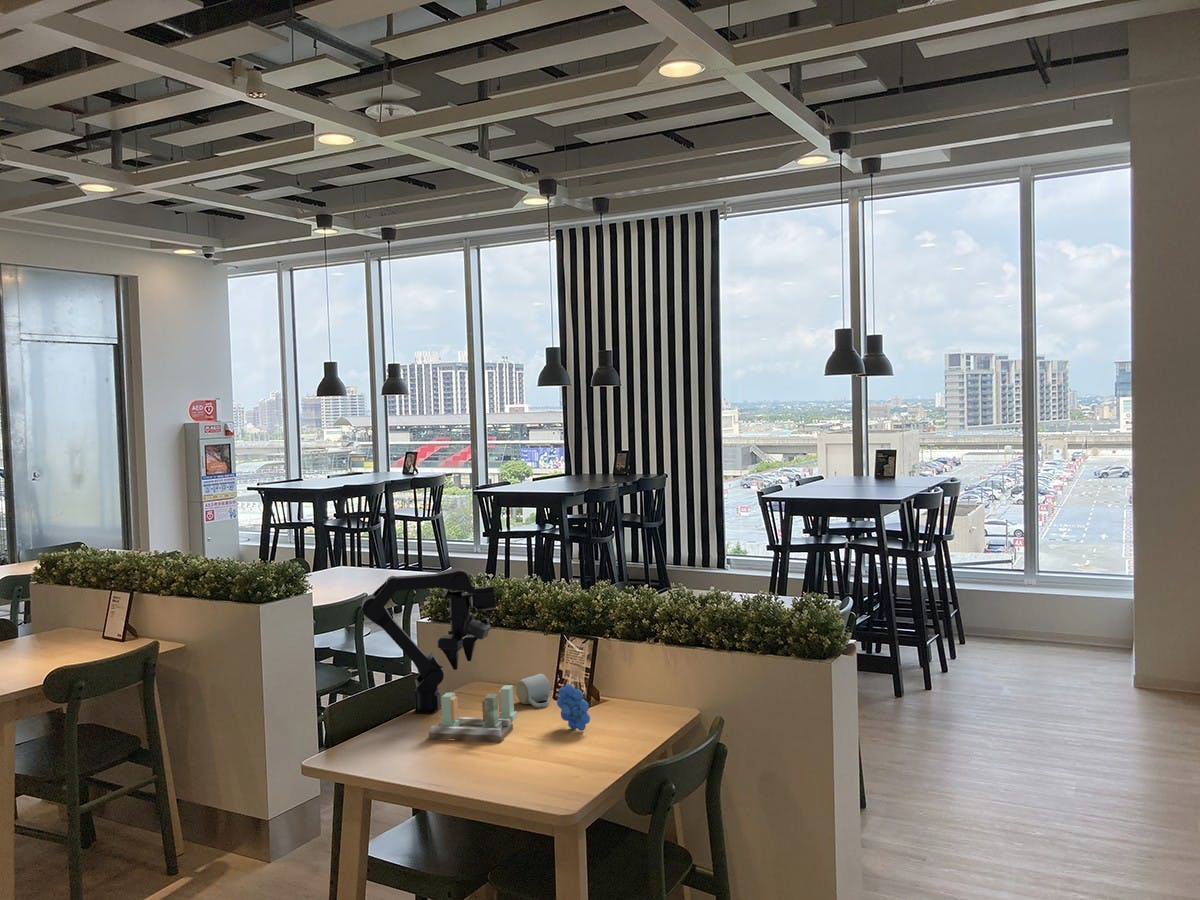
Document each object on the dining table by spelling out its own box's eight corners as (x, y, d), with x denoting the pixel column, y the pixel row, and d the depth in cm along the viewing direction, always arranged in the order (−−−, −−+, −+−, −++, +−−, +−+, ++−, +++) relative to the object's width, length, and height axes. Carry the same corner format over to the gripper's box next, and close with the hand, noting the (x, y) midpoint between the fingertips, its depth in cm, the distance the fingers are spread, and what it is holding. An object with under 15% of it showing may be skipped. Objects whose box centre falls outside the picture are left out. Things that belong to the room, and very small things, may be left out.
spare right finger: (498, 721, 267) (497, 689, 267) (503, 716, 271) (502, 684, 271) (512, 721, 266) (511, 689, 266) (517, 717, 270) (515, 685, 270)
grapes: (547, 729, 259) (545, 685, 258) (565, 722, 264) (563, 679, 263) (578, 738, 251) (576, 692, 250) (596, 731, 256) (594, 686, 255)
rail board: (428, 739, 255) (426, 699, 254) (443, 726, 264) (441, 688, 264) (501, 742, 250) (499, 702, 250) (513, 729, 260) (511, 690, 259)
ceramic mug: (514, 701, 284) (513, 676, 284) (538, 696, 289) (537, 670, 288) (532, 711, 275) (531, 684, 275) (557, 705, 280) (556, 679, 280)
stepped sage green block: (440, 730, 257) (438, 696, 257) (445, 725, 261) (444, 692, 261) (454, 730, 256) (452, 697, 256) (459, 725, 260) (458, 692, 260)
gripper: (471, 620, 269) (474, 675, 270) (498, 606, 287) (500, 658, 288) (435, 619, 273) (438, 673, 273) (464, 605, 290) (466, 656, 291)
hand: (462, 665), depth 281 cm, fingers open, 9 cm apart
